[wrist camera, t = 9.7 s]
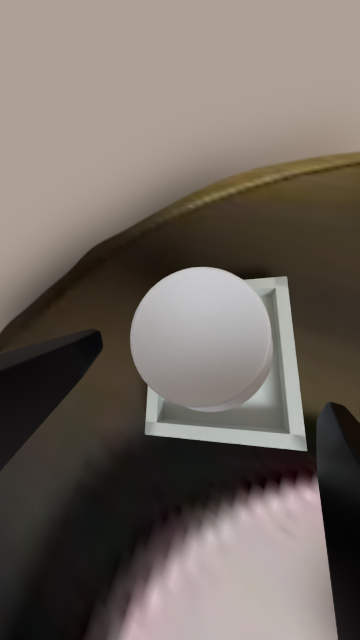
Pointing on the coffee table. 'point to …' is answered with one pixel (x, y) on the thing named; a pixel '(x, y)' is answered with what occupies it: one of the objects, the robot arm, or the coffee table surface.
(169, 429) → the tray
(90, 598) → the coffee table surface
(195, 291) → the pill bottle
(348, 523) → the robot arm
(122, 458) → the coffee table surface
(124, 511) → the coffee table surface
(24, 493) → the coffee table surface
